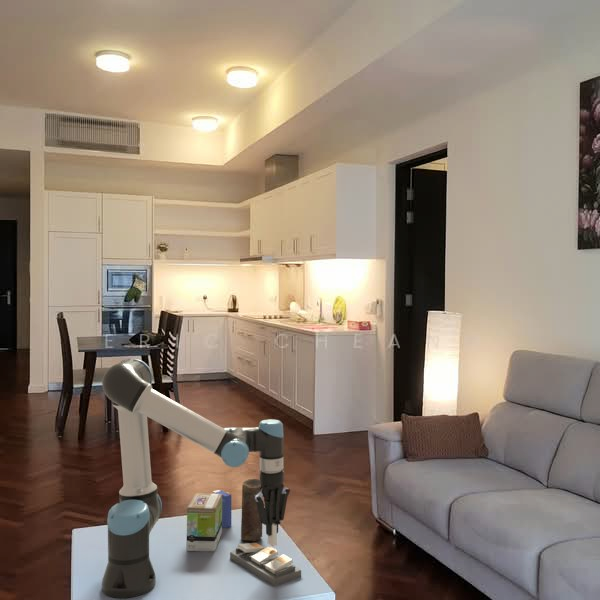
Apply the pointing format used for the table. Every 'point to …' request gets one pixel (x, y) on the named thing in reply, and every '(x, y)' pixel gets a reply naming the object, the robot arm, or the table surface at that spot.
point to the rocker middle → (264, 555)
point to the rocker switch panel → (261, 571)
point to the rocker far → (250, 547)
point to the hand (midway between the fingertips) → (272, 544)
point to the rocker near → (278, 563)
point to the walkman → (225, 508)
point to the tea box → (204, 522)
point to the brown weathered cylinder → (250, 511)
